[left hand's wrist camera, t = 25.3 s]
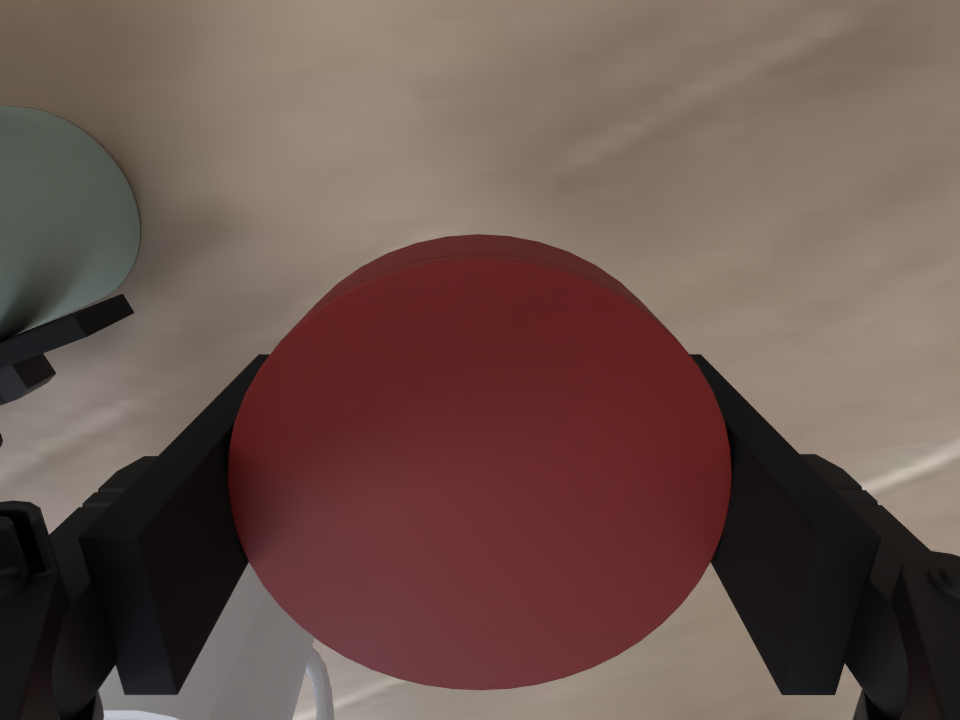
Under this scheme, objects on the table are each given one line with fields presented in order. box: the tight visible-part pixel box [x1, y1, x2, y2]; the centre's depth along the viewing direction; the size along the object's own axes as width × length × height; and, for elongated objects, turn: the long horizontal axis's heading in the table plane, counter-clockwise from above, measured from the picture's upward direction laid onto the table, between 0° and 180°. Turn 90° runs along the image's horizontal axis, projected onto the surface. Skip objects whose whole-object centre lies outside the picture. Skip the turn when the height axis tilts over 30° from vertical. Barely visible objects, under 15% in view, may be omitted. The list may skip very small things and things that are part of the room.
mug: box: [98, 563, 334, 720], centre depth 27 cm, size 11×9×10 cm
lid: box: [227, 234, 732, 690], centre depth 11 cm, size 9×9×2 cm
